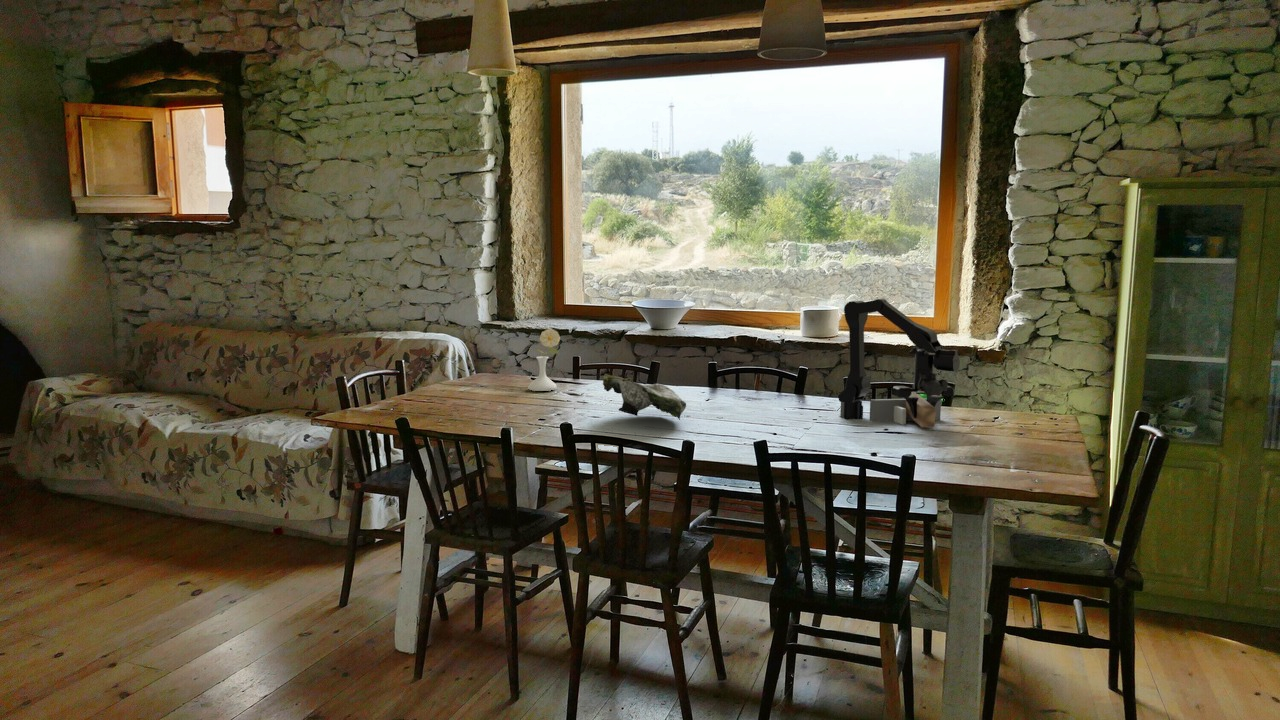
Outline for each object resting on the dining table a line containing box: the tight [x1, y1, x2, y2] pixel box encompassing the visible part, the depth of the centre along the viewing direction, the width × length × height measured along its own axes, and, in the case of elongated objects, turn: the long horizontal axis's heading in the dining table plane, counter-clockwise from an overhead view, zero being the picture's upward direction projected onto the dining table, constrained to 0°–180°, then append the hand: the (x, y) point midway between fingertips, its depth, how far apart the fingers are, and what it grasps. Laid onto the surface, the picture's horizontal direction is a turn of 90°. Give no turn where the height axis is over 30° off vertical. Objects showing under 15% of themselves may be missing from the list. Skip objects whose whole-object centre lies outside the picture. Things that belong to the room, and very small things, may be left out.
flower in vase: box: [527, 328, 561, 392], centre depth 342 cm, size 13×11×25 cm
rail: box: [905, 394, 936, 428], centre depth 278 cm, size 4×16×6 cm, turn 2°
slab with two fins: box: [869, 398, 942, 425], centre depth 284 cm, size 24×8×7 cm, turn 99°
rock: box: [602, 373, 687, 421], centre depth 286 cm, size 29×30×15 cm
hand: (921, 417), depth 276 cm, fingers closed on rail, 4 cm apart
